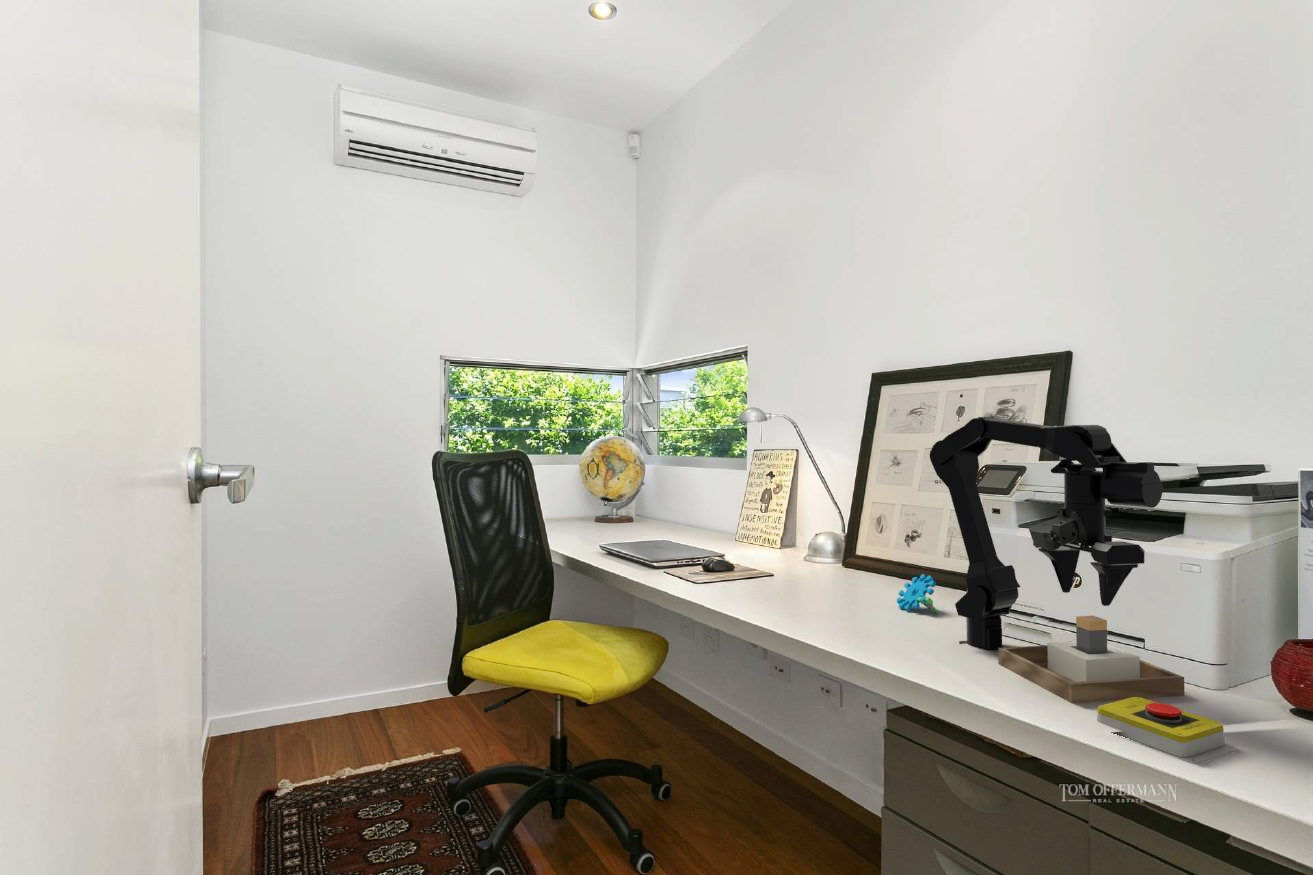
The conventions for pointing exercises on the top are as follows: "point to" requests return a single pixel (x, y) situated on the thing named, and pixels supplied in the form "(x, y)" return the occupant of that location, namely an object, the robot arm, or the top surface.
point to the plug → (1091, 634)
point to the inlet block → (1092, 663)
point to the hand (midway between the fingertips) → (1085, 598)
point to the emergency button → (1166, 729)
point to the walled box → (1035, 669)
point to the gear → (917, 593)
